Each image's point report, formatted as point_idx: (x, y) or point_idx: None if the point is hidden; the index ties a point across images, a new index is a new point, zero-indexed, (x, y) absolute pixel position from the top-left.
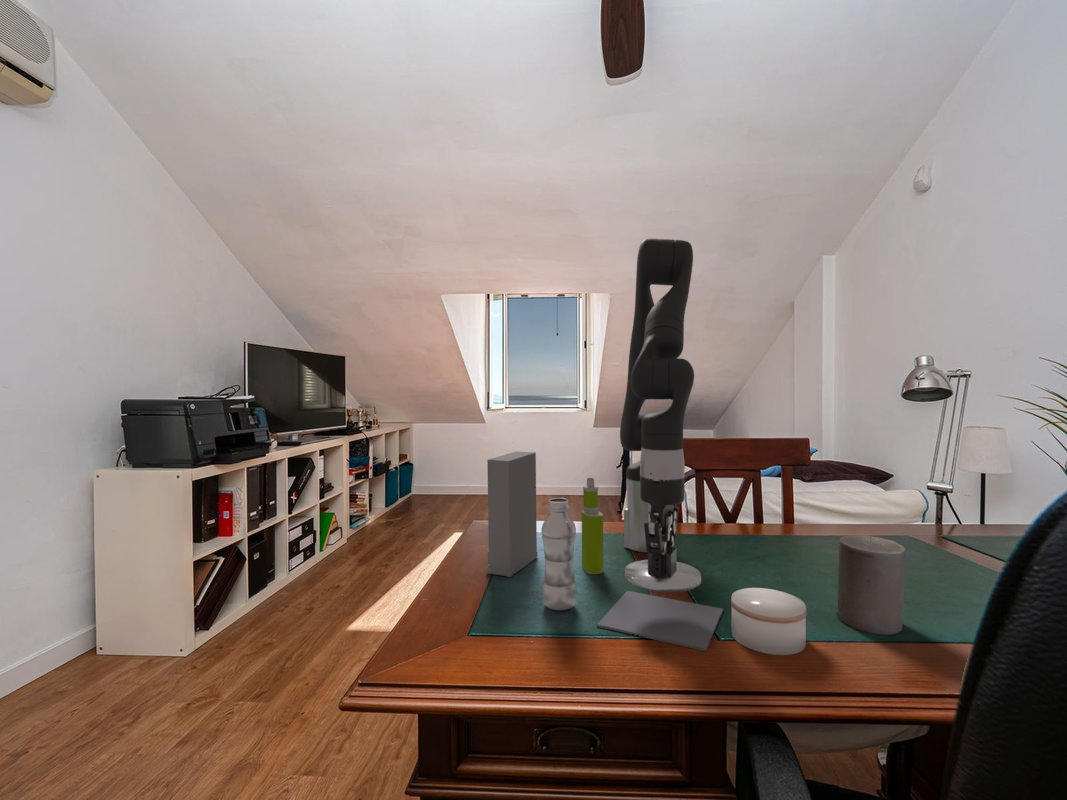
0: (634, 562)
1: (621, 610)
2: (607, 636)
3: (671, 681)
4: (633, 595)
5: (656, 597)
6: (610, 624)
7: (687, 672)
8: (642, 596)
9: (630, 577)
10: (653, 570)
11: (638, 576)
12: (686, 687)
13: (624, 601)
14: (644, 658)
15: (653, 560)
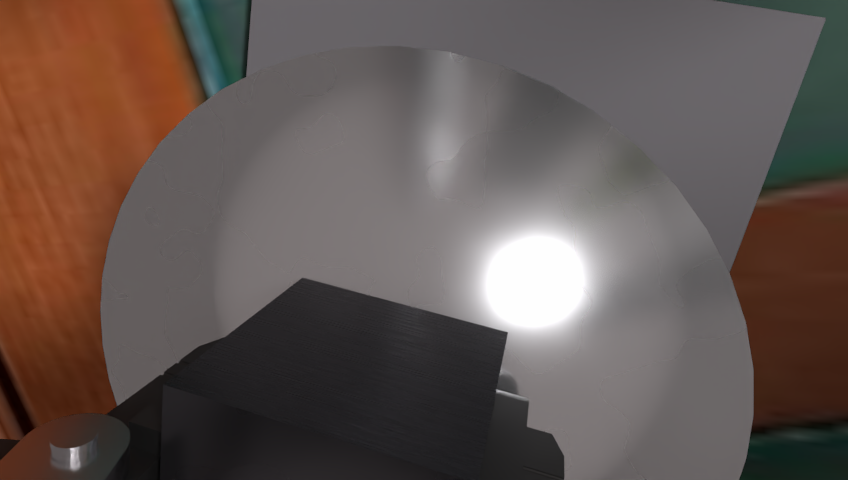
0: (591, 124)
1: (468, 35)
2: (192, 14)
3: (9, 292)
4: (732, 78)
5: (722, 232)
6: (278, 6)
7: (76, 343)
8: (724, 141)
9: (171, 133)
10: (198, 350)
11: (217, 200)
12: (2, 334)
13: (611, 31)
14: (93, 199)
15: (127, 402)
